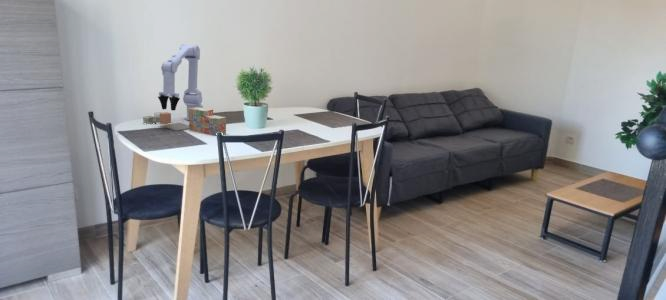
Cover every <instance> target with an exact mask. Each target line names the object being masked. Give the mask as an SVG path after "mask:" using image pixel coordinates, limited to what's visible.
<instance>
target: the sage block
mask: <svg viewBox="0 0 666 300" xmlns="http://www.w3.org/2000/svg"><path fill="white" fill-rule="evenodd" d="M142 122H143V124H144V123H146V124H145V125H147V124H150V125H154V124H153V123H156V124H157V122H156V117H154V115H146V116H142Z"/></svg>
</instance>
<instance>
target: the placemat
mask: <svg viewBox="0 0 666 300" xmlns="http://www.w3.org/2000/svg"><path fill="white" fill-rule="evenodd" d="M161 126H162V127H161ZM160 127H161V128H164V127H165V129H169V130H171V129H172V131H176V132H179V131H185V130H189V124H185V123H180V122H176V123H171V124H161V125H160Z"/></svg>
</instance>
